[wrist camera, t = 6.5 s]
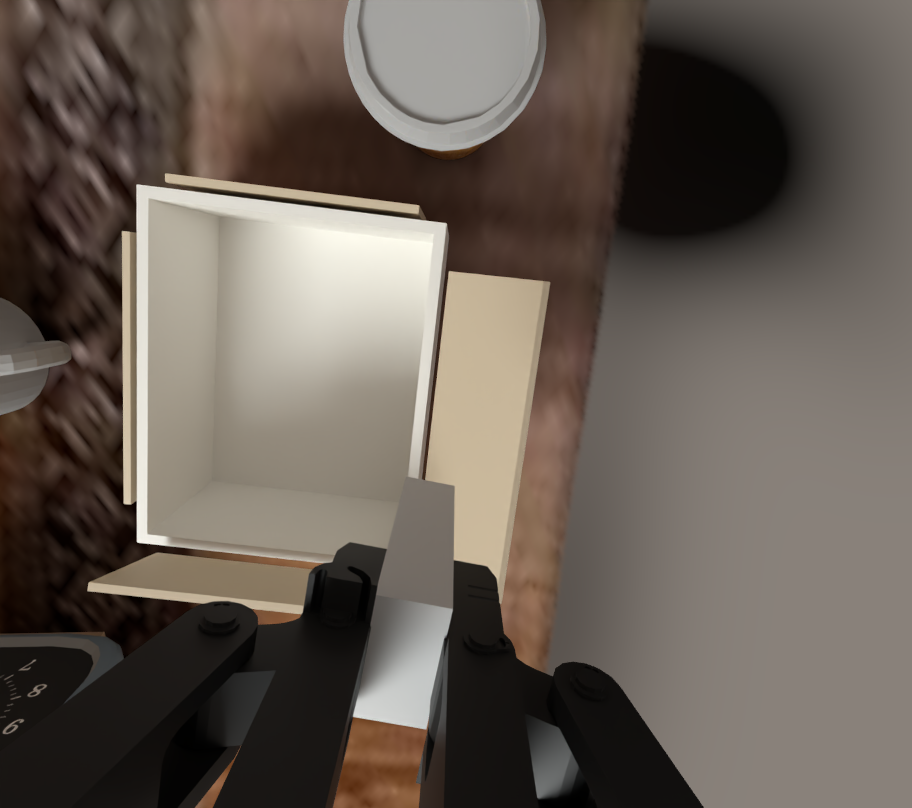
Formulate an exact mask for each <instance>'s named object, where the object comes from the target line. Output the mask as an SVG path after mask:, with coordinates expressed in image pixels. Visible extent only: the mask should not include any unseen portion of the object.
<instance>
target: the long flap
mask: <svg viewBox="0 0 912 808" xmlns="http://www.w3.org/2000/svg"><path fill="white" fill-rule="evenodd" d="M549 288H550V282H546V281H537V280H528V279H518V278H509V277H499V276H490V275H480V274H471V273H461V272H452V271H449V275H448V284H447V293H446V302H445V310H444V319H443V328H442V337H441V345H440V354H439V363H438V372H437V380H436V389H435V398H434V407H433V415H432V424H431V433H430V442H429V451H428V459H427V468H426V477H425V480H427V481H432V482H437V483H442V484H448V485H453V486H455V497H454V560H457V561H462V562H467V563H473V564H478V565H483V566H487V567H488V568H489V569H490V570H491V572H492V573H493V574H494V576H495V577H496V578H497V585H498V593H499V603H500V604H501V603H502V597H503V590H504V584H505V577H506V571H507V564H508V558H509V551H510V544H511V538H512V531H513V525H514V518H515V512H516V505H517V498H518V492H519V485H520V479H521V472H522V466H523V459H524V452H525V446H526V439H527V433H528V426H529V420H530V413H531V406H532V400H533V393H534V387H535V380H536V374H537V367H538V360H539V354H540V347H541V341H542V334H543V328H544V321H545V314H546V308H547V301H548V295H549Z"/></svg>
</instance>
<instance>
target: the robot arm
mask: <svg viewBox="0 0 912 808" xmlns="http://www.w3.org/2000/svg"><path fill="white" fill-rule="evenodd" d="M454 497H455V486H453V485H448V484H442V483H437V482H432V481H427V480H422V479H416V478H411V477H406V478H405V482H404V486H403V490H402V494H401V497H400V501H399V505H398V509H397V513H396V517H395V520H394V524H393V528H392V532H391V536H390V540H389V543H388V547H387V549H384V548H379V547H373V546H368V545H363V544H357V543H352V542H349V543H348V544H346V545H345V546H343V547H341V548H340V549H338V550H337V552H336V554H335V557H334V559H333V561H332V562H330V563H324V564H321V565H319V566H317V567H315V568H314V569H313V570H312V571H311V572H310V573H309V577H308V583H307V589H306V595H305V602H304V608H303V613H302V615H301V617H300V618H298V619H296V620H294V621H290V622H287V623H281V624H267V625H258V617H257V615H256V614H255V613H254V611H253V610H252V609H250V608H249V607H247V606H245V605H243V604H240V603H235V602H231V601H213V602H209V603H205V604H200V605H198V606H196V607H194V608H192V609H190V610H189V611H187V612H186V613H184V614H183V615H182V616H180V617H179V618H178V619H176V620H175V621H174V622H172V623H171V624H170V625H168V626H167V627H166V628H164V629H163V630H162V631H160V632H159V633H158V634H156V635H155V636H154V637H152V638H151V639H150V640H148V641H147V642H146V643H144V644H143V645H142V646H140V647H139V648H138V649H136V650H135V651H134V652H132V653H131V654H130V655H128V656H127V657H126V658H124V659H123V660H122V661H120V662H119V663H118V664H116V665H115V666H114V667H112V668H111V669H110V670H108V671H107V672H106V673H104V674H103V675H102V676H100V677H99V678H98V679H96V680H95V681H94V682H92V683H91V684H90V685H88V686H87V687H85V688H84V689H83V690H81V691H80V692H79V693H77V694H76V695H75V696H73V697H72V698H71V699H69V700H68V701H67V702H65V703H64V704H63V705H61V706H60V707H59V708H57V709H56V710H55V711H53V712H52V713H51V714H49V715H48V716H47V717H45V718H44V719H43V720H41V721H40V722H39V723H37V724H36V725H35V726H33V727H32V728H31V729H29V730H28V731H27V732H25V733H24V734H23V735H21V736H20V737H19V738H17V739H16V740H15V741H13V742H12V743H11V744H9V745H8V746H7V747H5V748H4V749H3V750H1V751H0V808H195V807H196V805H197V804H198V803H199V802H200V800H201V799H202V798H203V797H204V795H205V794H206V793H207V792H208V790H209V789H210V788H211V786H212V785H213V784H214V783H215V781H216V780H217V779H218V778H219V776H220V775H221V774H222V773H223V771H224V770H225V769H226V768H227V766H228V765H229V764H230V763H231V761H232V760H233V759H234V758H235V756H236V754H237V752H238V750H239V748H240V746H241V748H240V750H239V752H238V754H237V756H236V758H235V761H234V763H233V765H232V767H231V769H230V772H229V774H228V776H227V778H226V780H225V782H224V785H223V787H222V789H221V791H220V793H219V795H218V798H217V800H216V802H215V804H214V806H213V808H333V804H334V800H335V795H336V791H337V787H338V783H339V778H340V774H341V770H342V765H343V761H344V757H345V752H346V748H347V744H348V740H349V735H350V729H351V724H352V719H353V717H358V718H364V719H370V720H375V721H381V722H387V723H393V724H398V725H404V726H410V727H415V728H421V729H426V727H427V723H428V718H429V727H428V732H427V736H426V741H425V745H424V749H423V754H422V758H421V763H420V767H419V772H418V776H417V781H416V783H419V784H421V788H420V801H419V808H704V807H703V806H702V804H701V803H700V801H699V800H698V799H697V797H696V796H695V794H694V793H693V791H692V790H691V788H690V787H689V785H688V784H687V783H686V781H685V780H684V778H683V777H682V776H681V774H680V772H679V771H678V770H677V768H676V767H675V765H674V764H673V762H672V761H671V759H670V758H669V757H668V755H667V754H666V752H665V751H664V749H663V748H662V746H661V745H660V744H659V742H658V741H657V739H656V738H655V736H654V735H653V733H652V732H651V731H650V729H649V728H648V726H647V725H646V723H645V722H644V720H643V719H642V718H641V716H640V715H639V713H638V712H637V710H636V709H635V708H634V706H633V704H632V703H631V702H630V700H629V699H628V697H627V696H626V694H625V693H624V691H623V690H622V689H621V687H620V686H619V685H618V684H617V683H616V682H615V680H613V678H612V677H610V676H609V675H608V674H606V673H605V672H603V671H602V670H600V669H598V668H596V667H594V666H591V665H588V664H585V663H578V662H568V663H562V664H561V665H560V666H558V667H557V668H556V669H555V672H554V675H553V676H550V675H548V674H545V673H543V672H541V671H538V670H536V669H534V668H532V667H530V666H528V665H526V664H524V663H523V662H522V661H520V660H519V659H517V658H516V653H515V649H514V646H513V644H512V642H511V640H510V639H509V638H508V637H507V636H506V635H505V634H504V631H503V623H502V616H501V608H500V603H499V593H498V585H497V578H496V577H495V576H494V574H493V573H492V572H491V570H490V569H489V568H488V567H487V566H483V565H478V564H473V563H467V562H462V561H457V560H454Z"/></svg>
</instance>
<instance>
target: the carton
mask: <svg viewBox="0 0 912 808" xmlns="http://www.w3.org/2000/svg"><path fill="white" fill-rule="evenodd" d="M165 182H168V183H171V184H174V185H177V186H180V187H183V188H186V189H189V190H192V191H185V190H177V189H169V188H161V187H153V186H145V185H137V233H133V232H126V231H122V301H123V467H124V504H130V505H131V504H132V503H134V502H135V501H137V543H146V544H155V545H164V546H173V547H182V548H191V549H200V550H209V551H218V552H227V553H236V554H245V555H254V556H263V557H272V558H281V559H290V560H299V561H308V562H318V563H330V562H332V561H333V559H334V557H335V554H336V552H337V550H338V549H340V548H341V547H343V546H345V545H346V544H348V543H349V542H352V543H357V544H363V545H368V546H373V547H379V548H384V549H387V547H388V543H389V540H390V536H391V532H392V528H393V524H394V520H395V517H396V513H397V509H398V505H399V501H400V497H401V494H402V490H403V486H404V482H405V478H406V477H411V478H416V479H422V474H423V465H424V456H425V447H426V438H427V429H428V421H429V412H430V403H431V394H432V385H433V376H434V367H435V359H436V350H437V341H438V332H439V323H440V314H441V305H442V297H443V288H444V279H445V270H446V261H447V252H448V243H449V233H448V227H447V223H441V222H433V221H426V217H425V216H424V214H423V212H422V210H421V208H420V206H419V205H413V204H405V203H397V202H389V201H381V200H373V199H365V198H357V197H349V196H341V195H333V194H325V193H317V192H309V191H301V190H293V189H285V188H277V187H269V186H261V185H253V184H246V183H238V182H230V181H222V180H214V179H206V178H198V177H190V176H182V175H174V174H166V173H165ZM193 191H195V192H193Z"/></svg>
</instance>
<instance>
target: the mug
mask: <svg viewBox="0 0 912 808" xmlns="http://www.w3.org/2000/svg"><path fill="white" fill-rule="evenodd" d="M70 359H71V350H70V348H69V346H68V344H66V343H63V342H61V341H45V340H44V338H43V336H42V334H41V332H40V330H39V329H38V327H37V326H36V324H35V323H34V322H33V321H32V319H31V318H30V317H29V316H28V315H27V314H26V313H25V312H24V311H22V310H21V309H20V308H19V307H17V306H16V305H14V304H12V303H11V302H9V301H7V300H5V299H2V298H0V415H2V414H5V413H9V412H12V411H15V410H17V409H20V408H23V407H25V406H26V405H28V404H29V403H31V402H32V401H33V400H34V399H35V398H36V397H37V396H38V395H39V394H40V392H41V390H42V389H43V387H44V385H45V383H46V379H47V376H48V371H49V367H53V366H57V365H61V364H65V363H67V362H68V361H69V360H70Z"/></svg>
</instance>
